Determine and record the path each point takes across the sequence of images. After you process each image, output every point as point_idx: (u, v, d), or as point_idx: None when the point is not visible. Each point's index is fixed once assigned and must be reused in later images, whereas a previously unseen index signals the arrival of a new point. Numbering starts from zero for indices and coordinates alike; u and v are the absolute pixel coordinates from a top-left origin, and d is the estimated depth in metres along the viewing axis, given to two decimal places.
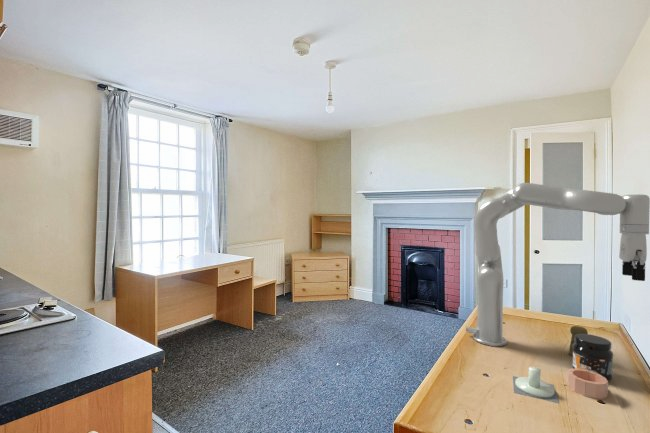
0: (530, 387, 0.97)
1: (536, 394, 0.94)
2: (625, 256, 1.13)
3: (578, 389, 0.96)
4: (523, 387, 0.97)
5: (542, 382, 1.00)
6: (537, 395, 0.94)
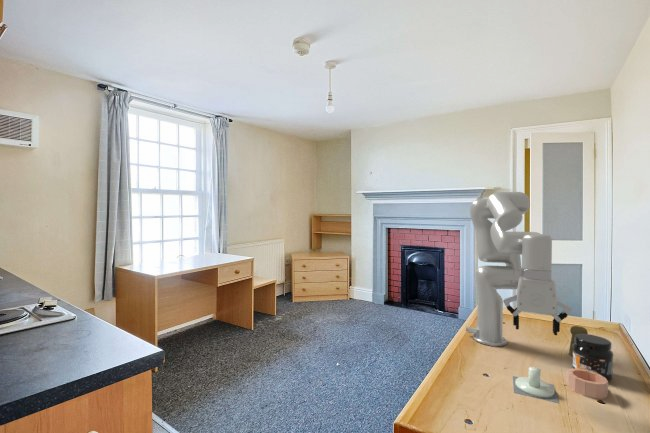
0: (530, 387, 0.97)
1: (536, 394, 0.94)
2: (546, 309, 0.94)
3: (578, 389, 0.96)
4: (523, 387, 0.97)
5: (542, 382, 1.00)
6: (537, 395, 0.94)
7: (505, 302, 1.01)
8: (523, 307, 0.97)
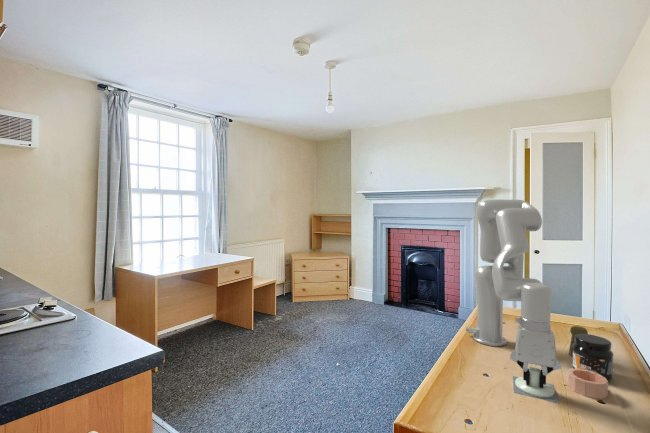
0: (530, 387, 0.97)
1: (536, 394, 0.94)
2: (545, 361, 0.95)
3: (578, 389, 0.96)
4: (523, 387, 0.97)
5: None
6: (537, 395, 0.94)
7: (512, 358, 1.00)
8: (522, 357, 0.97)
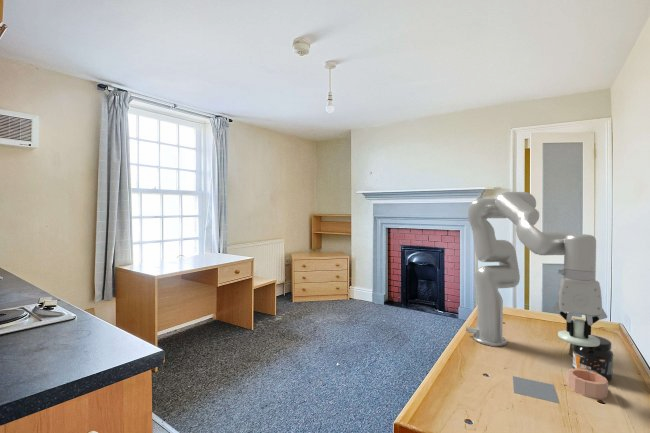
0: (574, 338, 0.96)
1: (581, 343, 0.93)
2: (591, 310, 0.94)
3: (578, 389, 0.96)
4: (567, 337, 0.96)
5: None
6: (582, 344, 0.93)
7: (555, 310, 1.00)
8: (566, 307, 0.97)
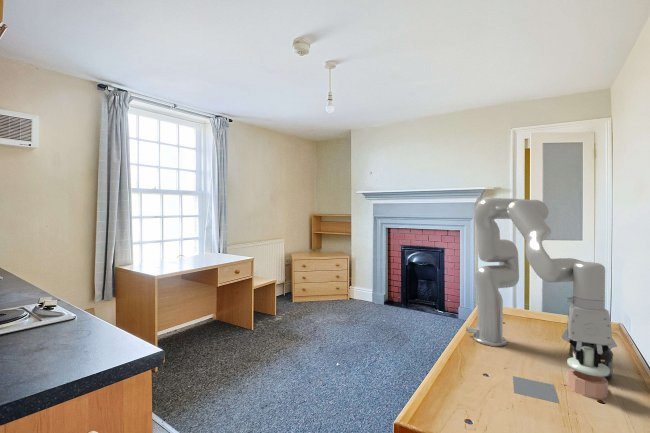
0: (584, 366, 0.96)
1: (592, 372, 0.93)
2: (601, 339, 0.94)
3: (578, 389, 0.96)
4: (577, 366, 0.96)
5: None
6: (593, 373, 0.93)
7: (564, 338, 1.00)
8: (576, 336, 0.97)
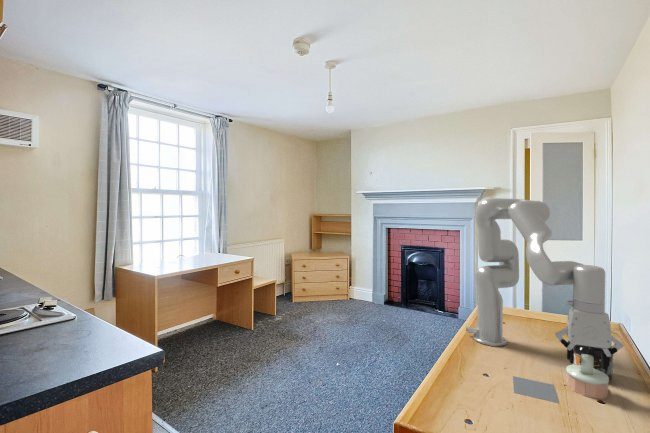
0: (583, 374, 0.97)
1: (591, 381, 0.93)
2: (600, 342, 0.94)
3: (578, 389, 0.96)
4: (576, 374, 0.97)
5: (594, 369, 0.99)
6: (592, 382, 0.93)
7: (557, 336, 1.01)
8: (575, 339, 0.97)
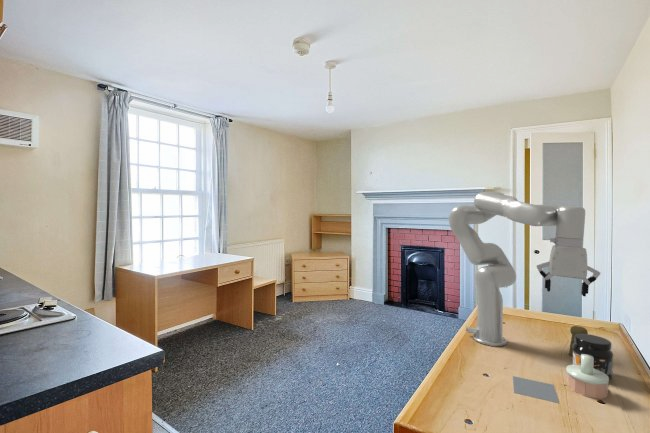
0: (583, 374, 0.97)
1: (591, 381, 0.93)
2: (577, 273, 1.05)
3: (578, 389, 0.96)
4: (576, 374, 0.97)
5: (594, 369, 0.99)
6: (592, 382, 0.93)
7: (538, 267, 1.13)
8: (555, 271, 1.08)
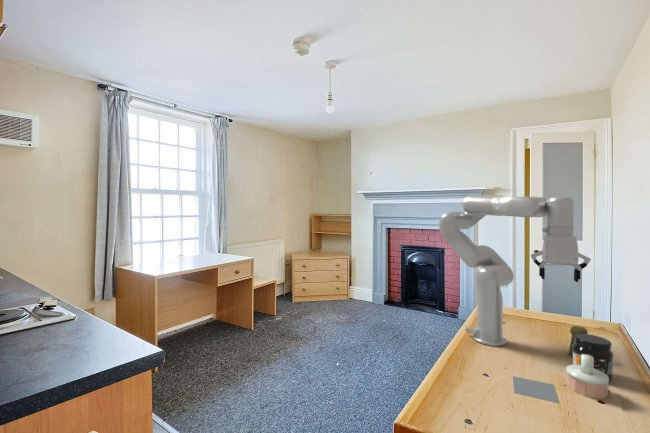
0: (583, 374, 0.97)
1: (591, 381, 0.93)
2: (569, 259, 1.11)
3: (578, 389, 0.96)
4: (576, 374, 0.97)
5: (594, 369, 0.99)
6: (592, 382, 0.93)
7: (532, 256, 1.18)
8: (549, 259, 1.14)
